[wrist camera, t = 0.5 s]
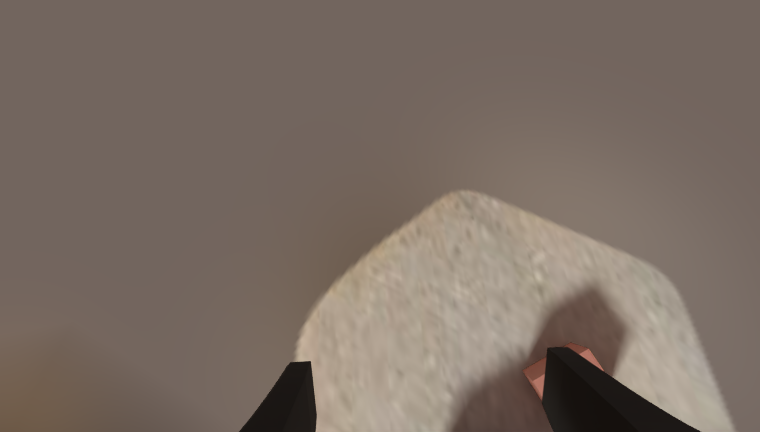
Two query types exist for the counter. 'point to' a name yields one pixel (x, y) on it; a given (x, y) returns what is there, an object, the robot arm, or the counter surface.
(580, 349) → the red block
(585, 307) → the counter surface
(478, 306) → the counter surface
